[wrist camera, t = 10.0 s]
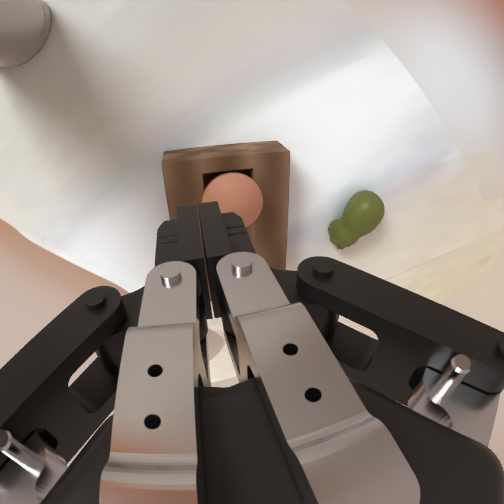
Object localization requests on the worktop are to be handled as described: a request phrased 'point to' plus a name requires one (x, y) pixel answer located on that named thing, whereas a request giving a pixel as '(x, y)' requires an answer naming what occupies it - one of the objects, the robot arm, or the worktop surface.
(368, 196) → the pear
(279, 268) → the brown wooden block
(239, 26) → the worktop surface
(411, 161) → the worktop surface
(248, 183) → the tan round knob
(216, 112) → the worktop surface
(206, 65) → the worktop surface
